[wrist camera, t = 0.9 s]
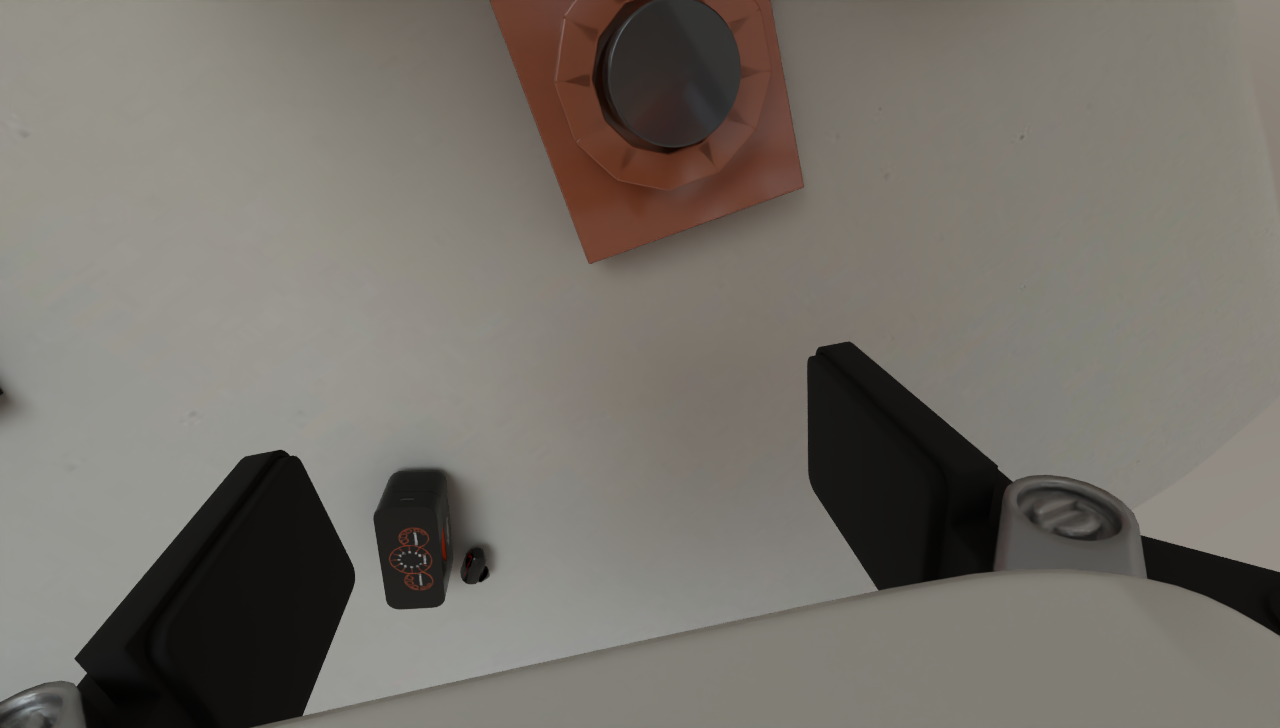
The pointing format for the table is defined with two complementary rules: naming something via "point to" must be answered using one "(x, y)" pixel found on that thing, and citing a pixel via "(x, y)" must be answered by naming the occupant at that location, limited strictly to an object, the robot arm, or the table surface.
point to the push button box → (627, 165)
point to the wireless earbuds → (419, 541)
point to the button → (672, 72)
